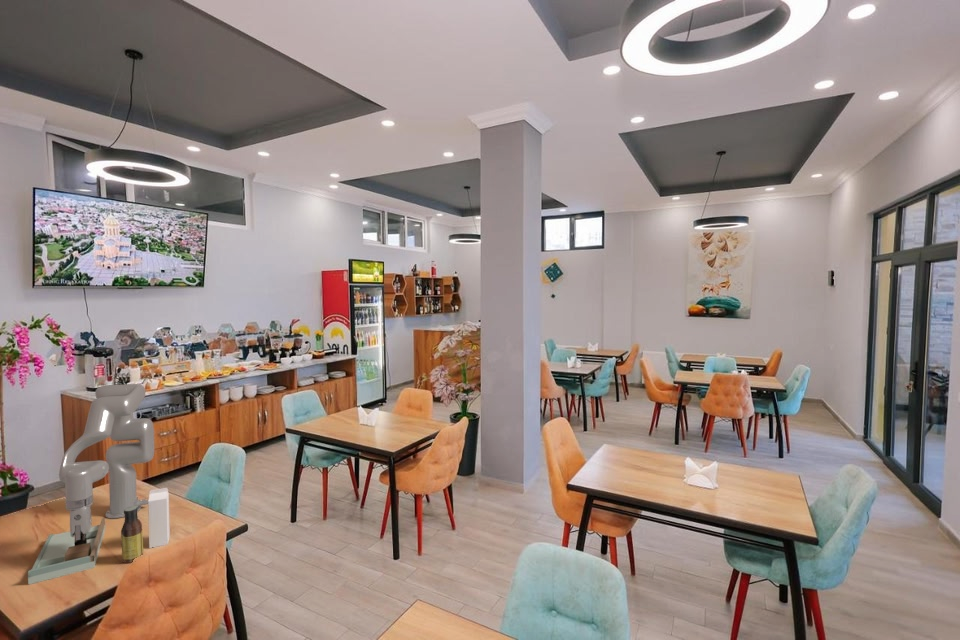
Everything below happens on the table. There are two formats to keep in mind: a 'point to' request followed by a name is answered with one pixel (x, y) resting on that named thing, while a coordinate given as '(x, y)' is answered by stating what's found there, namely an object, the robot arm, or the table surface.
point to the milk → (158, 517)
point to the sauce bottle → (131, 535)
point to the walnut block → (78, 551)
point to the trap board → (54, 555)
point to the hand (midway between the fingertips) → (80, 550)
